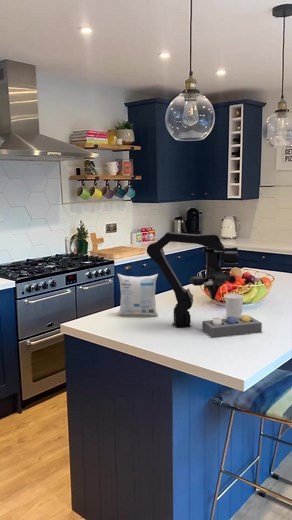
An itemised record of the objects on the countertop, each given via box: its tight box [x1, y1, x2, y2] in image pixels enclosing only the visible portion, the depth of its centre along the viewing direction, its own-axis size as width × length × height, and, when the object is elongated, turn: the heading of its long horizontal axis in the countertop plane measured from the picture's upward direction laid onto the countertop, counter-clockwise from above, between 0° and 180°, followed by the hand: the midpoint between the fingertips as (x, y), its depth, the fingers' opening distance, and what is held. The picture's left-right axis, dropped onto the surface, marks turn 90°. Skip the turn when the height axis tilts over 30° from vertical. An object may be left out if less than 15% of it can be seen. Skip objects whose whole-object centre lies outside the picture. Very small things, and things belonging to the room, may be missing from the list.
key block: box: [201, 316, 263, 339], centre depth 188 cm, size 22×10×4 cm, turn 106°
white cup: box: [225, 293, 244, 318], centre depth 207 cm, size 8×8×10 cm
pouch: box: [117, 273, 159, 317], centre depth 212 cm, size 8×19×20 cm, turn 79°
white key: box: [212, 317, 223, 326], centre depth 186 cm, size 4×4×4 cm
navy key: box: [226, 316, 236, 324], centre depth 188 cm, size 4×4×4 cm
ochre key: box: [241, 314, 251, 323], centre depth 189 cm, size 4×4×4 cm
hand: (212, 299), depth 193 cm, fingers closed
